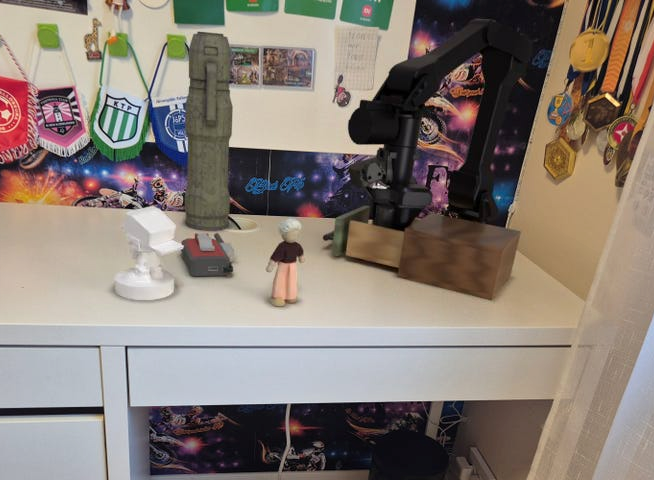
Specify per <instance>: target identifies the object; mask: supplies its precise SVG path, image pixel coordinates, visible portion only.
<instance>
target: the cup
mask: <svg viewBox="0 0 654 480" xmlns="http://www.w3.org/2000/svg"><path fill="white" fill-rule="evenodd" d="M374 225H376V226H380V227H385V228H390V229H393V228H394V209H393V208H392V207H391V205H390V204H389V203H381V204H377V207H376V214H375V222H374Z"/></svg>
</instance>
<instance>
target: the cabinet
mask: <svg viewBox="0 0 654 480" xmlns="http://www.w3.org/2000/svg"><path fill="white" fill-rule="evenodd" d="M420 219H421V220H419V221H417V222H416V223H414V224H412V225H410V226H409V227H407V228H405V232H404V239H403V245H402V251H401V257H400V263H399V268H398V269H397V270H398V271H397V278H401V279H404V280H409V281H413V282H416V283H420V284H425V285H429V286H434V287H438V288H441V289H446V290H449V291H454V292H458V293H462V294H465V295H470V296H474V297H478V298H483V299H486V300H491V301H492V300H493V299H494V298H495V296H496V295H497V294H498V293H499V292H500V290H501V289H502V288H503V286H504V285H505V284H506V283H507V282H508V280H509V279H510V278H511V275H512V271H513V267H514V263H515V259H516V254H517V250H518V246H519V242H520V238H521V234H522V231H521V230H517V229H512V228H507V227H504V226H503V227H502V226H497V225H492V224H487V223H485V224H483V223H478V222H473V221H468V220H463V219H458V218H457V217H453V216H447V215H442V214H437V213H432V212H431V213H430V214H427V215H426V216H425V217H422V218H420Z"/></svg>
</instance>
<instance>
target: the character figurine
mask: <svg viewBox="0 0 654 480" xmlns="http://www.w3.org/2000/svg"><path fill="white" fill-rule="evenodd" d="M121 229H123V233H124V234H125V235H126V237H127V239H128V240H129V243H128V244H129V249H130V255H131V259H133V260H135V262H134V263H135V265H134V266H133V268H127V269H124V270H122V271H119V272H117V273H116V274H115V275H114V291H115V293H116V294H117V295H118V296H119V297H122V298H125V299H128V300H133V301H153V300H159V299H165V298H166V297H169V296H171V295H172V294H173V293H174V292H175V276H174V274H173V273H171V272H170V271H168V270H166V269H162V268H163V263H162V261H161V260H160V258H159V255H160V256H165V255H168V254H171V253H175V252H178V251H181V249H183V248H184V245H182V243H180V242H177V241H176V240H174V238H175V234H176V229H177V225H176V224H175V223H174V222H173V221H172V219H171V218H169V216H167V214H166V213H165V212H164V211H162V210H161V208H158V207H156V206H154V205H151V206H146V207H142V208H139V209H138V208H137V209H133V210H130V211H126V213H125V215H124V223H123V227H121Z"/></svg>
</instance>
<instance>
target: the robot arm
mask: <svg viewBox="0 0 654 480" xmlns="http://www.w3.org/2000/svg"><path fill="white" fill-rule="evenodd" d="M477 54H478V55H479V56H481V61H480V71H481V74H482V77H483V82H484V83H483V84H484V85H483V89H482V93H481V97H480V100H479V104H478V109H477V113H476V117H475V121H474V125H473V129H472V132H471V133H472V134H471V137H470V141H469V145H468V148H467V153H466V156H465V160H464V163H462V165H461V166H460V167H459V168H458V169H453V170H452V171H451V172H450V178H449V182H448V186H447V187H446V191H447V206H448V212H449V213H453V214H456V218H458V219H463V220H468V221H473V222H478V223H483V224H486V223H492V222H493V221H495V220H496V219H497V216H498V214H499V212H500V209H499V207H498V205H497V202H496V200H495V197H494V196H493V194H494V188H495V179H494V175H493V171H492V163H493V159H494V155H495V151H496V147H497V145H498V140H499V136H500V133H501V129H502V125H503V122H504V117H505V115H506V114H505V113H506V111H507V106H508V102H509V99H510V96H511V91H512V89H513V87H514V86H515V85H516V83H517V82H519V80H520V79H522V77H523V76H524V74H525V73H526V70H527V68H528V66H529V65H528V64H529V62H530V59H531V57H532V54H533V44H532V42H531V38H530V37H529V35H528V34H526V33H519V32H518V31H516V30H513V29H511V28H509V27H506V26H503V25H502V24H501V23H500V22H498V21H496V20H495V19H489V18H475V19H472V20H470V21H469V22H467V24H466V26H464V27H463V28H462V29H461V30H458V32H456V33H454V34H453V35H452V36H451V37H449V38H448V39H445V40H444V41H443V42H441V43H440V44H439V45H438V46H436V47H435V48H433V49H432V50H430V51H429V52H428V53H426V54H423V55H421V56H420V55H419V56H416V57H412V58H408V59H405V60H402V61H400V62H398V63H396V64H393V66H392V67H391V68H390V69H389V71H388V75H387V76H386V78H385V79H384V82H383V83H382V84H381V86H380V87H379V89H378V90H377V92H376V93H375V95H374V97H373V98H372V99H371V100H369V99H360V100H359V105H358V107H357V108H355V109H354V110H353V112H352V113H351V115H350V118H349V119H348V121H347V132H348V137H349V139H350V140H351V141H352V143H354V144H355V145H359V146H361V145H363V146H367V145H368V146H371V145H373V146H377V145H379V147H378V148H377V150H376V154H375V156H374V157H371V158H366V159H363V160H360V161H357V162H354V163H351V164H349V165H347V169H348V173H349V179H350V184H351V185H355V186H356V188H358V189H363V190H364V191H365V192H366V193H367V194H368V196H369V198H370V203H371V204H370V205H371V211H372V219H373V220H374V222H375V214H376V207H377V204H381V203H389V204H390V205H391V207H392V208H393V209H394V228H393V229H394V230H399V231H404V232H405V228H407V227H409V226H410V225H411V223H412V222H413V220H414V219H415V218H418V215H419V214H420V213H421V212H422V211H423V210H425V209H426V208H427V207H431V206H432V203H433V202H432V201H433V198H434V194H433V192H432V191H431V189H430V187H429V188H428V187H426V186H425V185H422V184H419V183H417V178H416V177H415V176H413V174H414V173H413V172H414V168H415V162H416V161H420V159H421V153H420V152H417V149H418V144H419V137H420V132H421V126H422V120H423V119H430V118H431V117H432V113H431V112H430V110H429V109H428V108H427V107H426V103H427V102H428V101H430V100H431V98H432V97H433V96H434V95H435V94H436V93H437V92H438V91H439V90H440V89H441V85H442V82H443V80H444V79H445V78H446V77H447V76H448V75H450V74H451V73H453V72H454V71H455V70H457V69H458V68H459V67H461V66H463V65H464V64H465V63H466V62H468V61H469V60H470V59H472V58H473V57H475V56H476V55H477ZM380 146H382V147H380Z"/></svg>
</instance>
